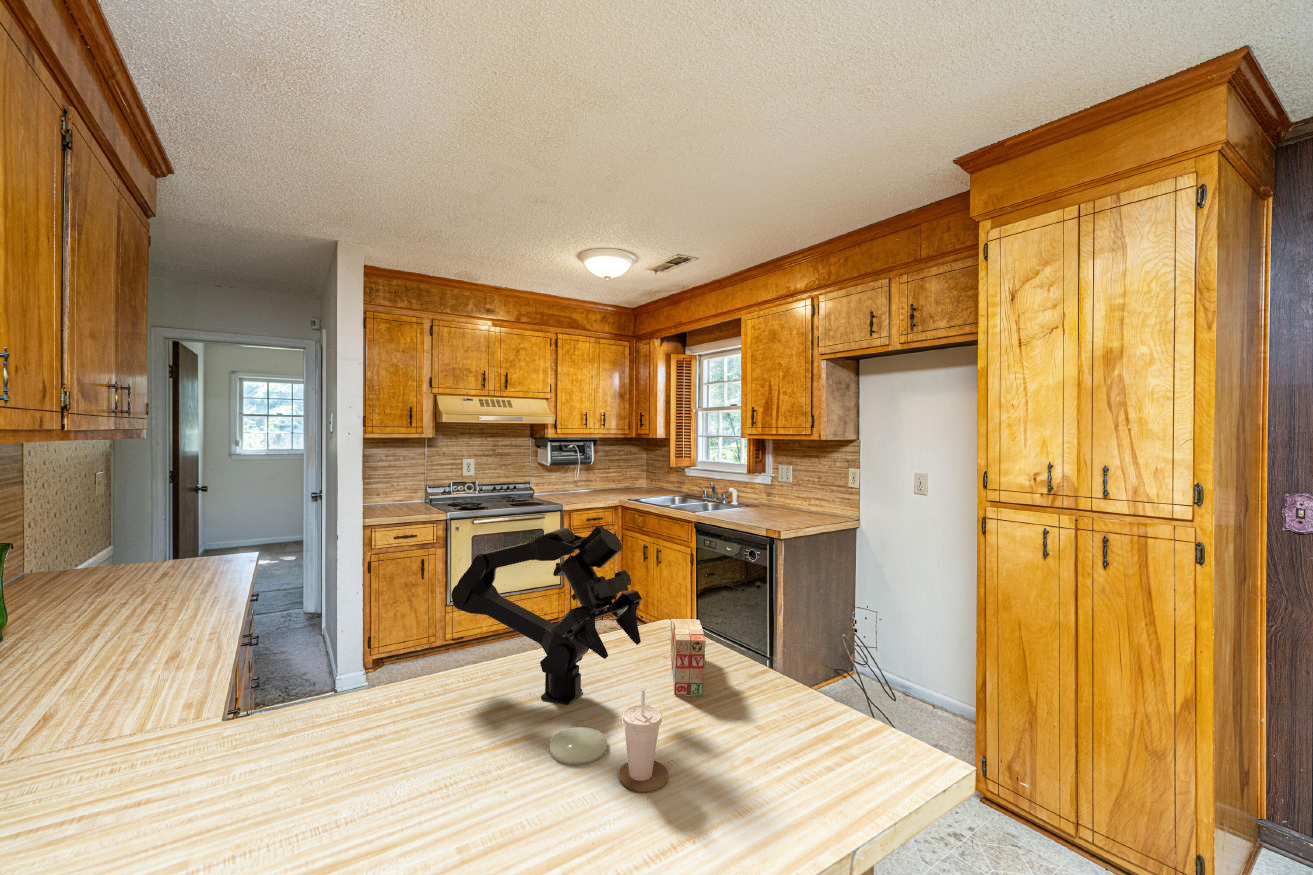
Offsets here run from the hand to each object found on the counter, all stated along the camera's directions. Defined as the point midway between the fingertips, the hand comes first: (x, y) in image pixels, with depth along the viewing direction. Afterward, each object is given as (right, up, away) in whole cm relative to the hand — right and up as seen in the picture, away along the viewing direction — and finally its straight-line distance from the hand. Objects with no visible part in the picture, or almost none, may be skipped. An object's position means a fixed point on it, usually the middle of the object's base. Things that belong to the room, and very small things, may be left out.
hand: (623, 650), depth 110 cm
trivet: (+4, -14, -17) cm, 23 cm away
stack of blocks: (+13, -14, +22) cm, 29 cm away
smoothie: (+4, -14, -17) cm, 22 cm away
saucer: (-7, -14, -9) cm, 18 cm away
